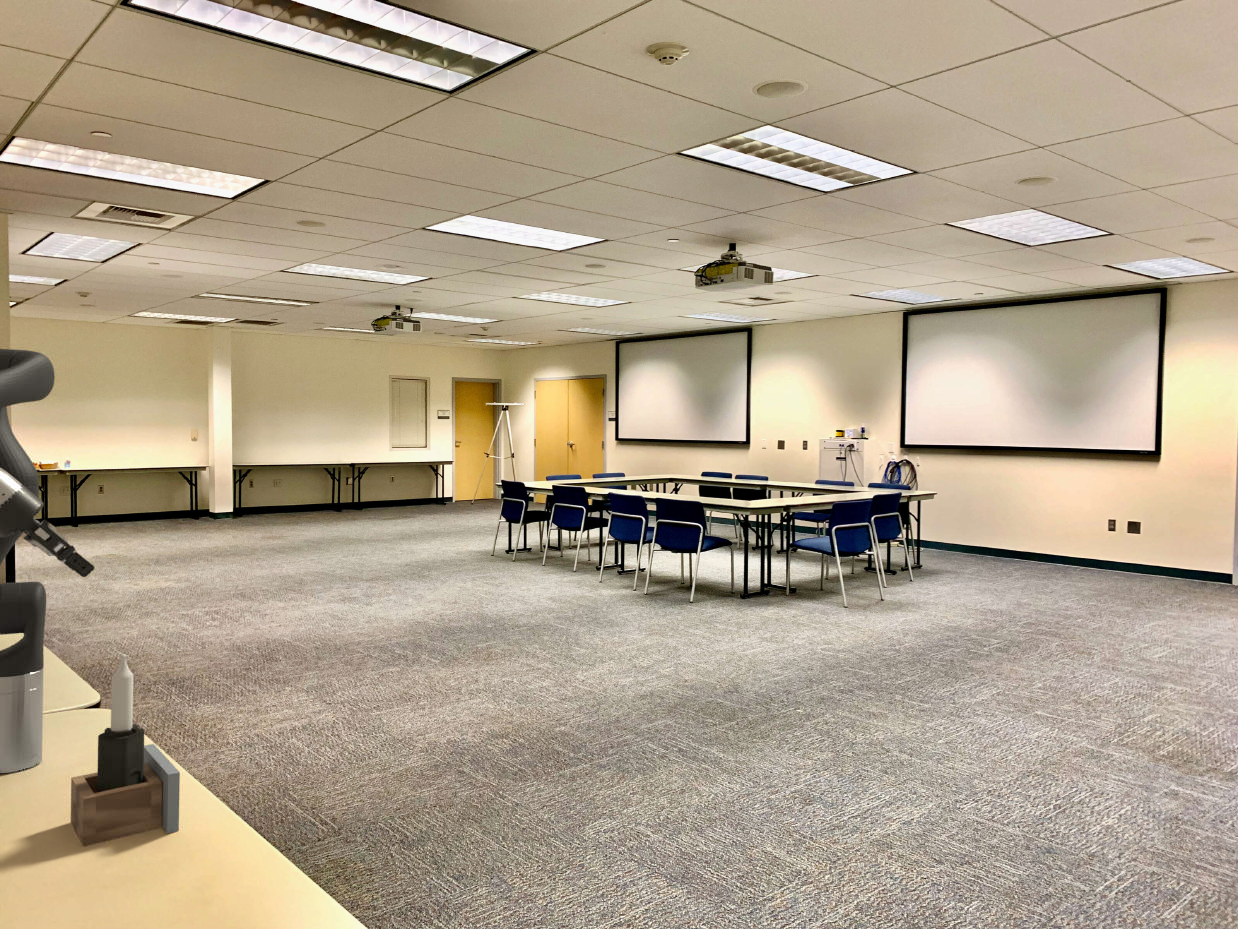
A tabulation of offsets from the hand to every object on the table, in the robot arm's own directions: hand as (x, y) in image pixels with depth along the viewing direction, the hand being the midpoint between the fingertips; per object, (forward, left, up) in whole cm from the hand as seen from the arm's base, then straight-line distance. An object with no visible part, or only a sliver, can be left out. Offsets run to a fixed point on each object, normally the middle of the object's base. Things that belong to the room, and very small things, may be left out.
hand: (84, 569), depth 138 cm
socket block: (+11, -1, -39) cm, 40 cm away
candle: (+11, -1, -37) cm, 39 cm away
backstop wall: (+13, +5, -39) cm, 41 cm away
